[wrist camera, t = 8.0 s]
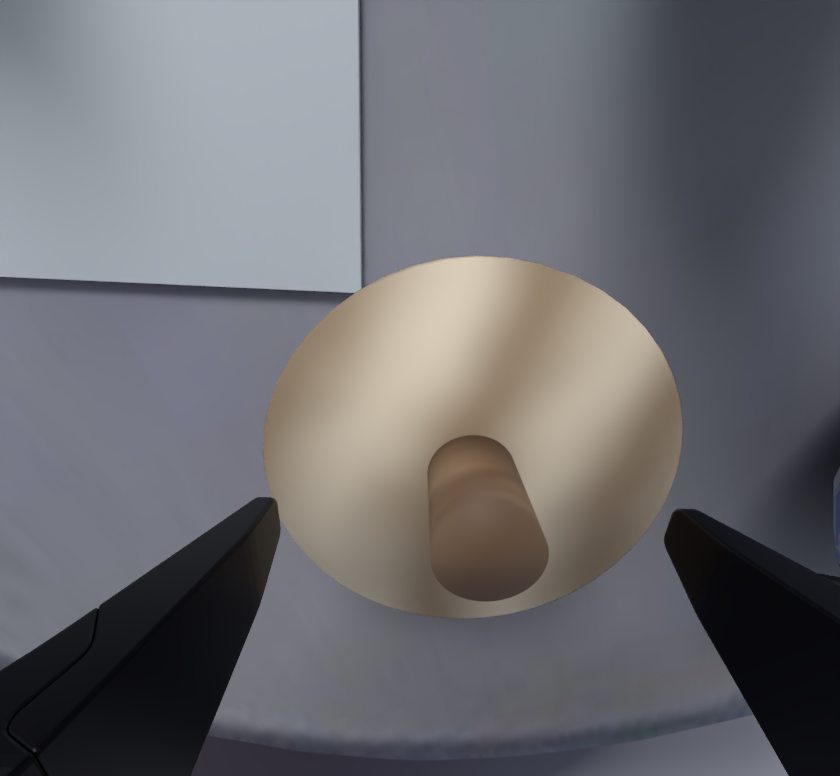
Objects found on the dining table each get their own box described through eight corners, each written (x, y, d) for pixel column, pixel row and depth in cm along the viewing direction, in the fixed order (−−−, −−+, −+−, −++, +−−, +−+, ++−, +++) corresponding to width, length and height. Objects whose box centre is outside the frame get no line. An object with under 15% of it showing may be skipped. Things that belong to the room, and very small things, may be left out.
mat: (358, -104, 14) (356, -115, 14) (362, 291, 20) (361, 293, 19) (-158, -140, 14) (-177, -152, 13) (-11, 274, 19) (-22, 275, 19)
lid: (732, 285, 13) (908, 318, 8) (600, 610, 19) (660, 738, 14) (267, 227, 12) (174, 228, 8) (276, 584, 18) (226, 710, 13)
